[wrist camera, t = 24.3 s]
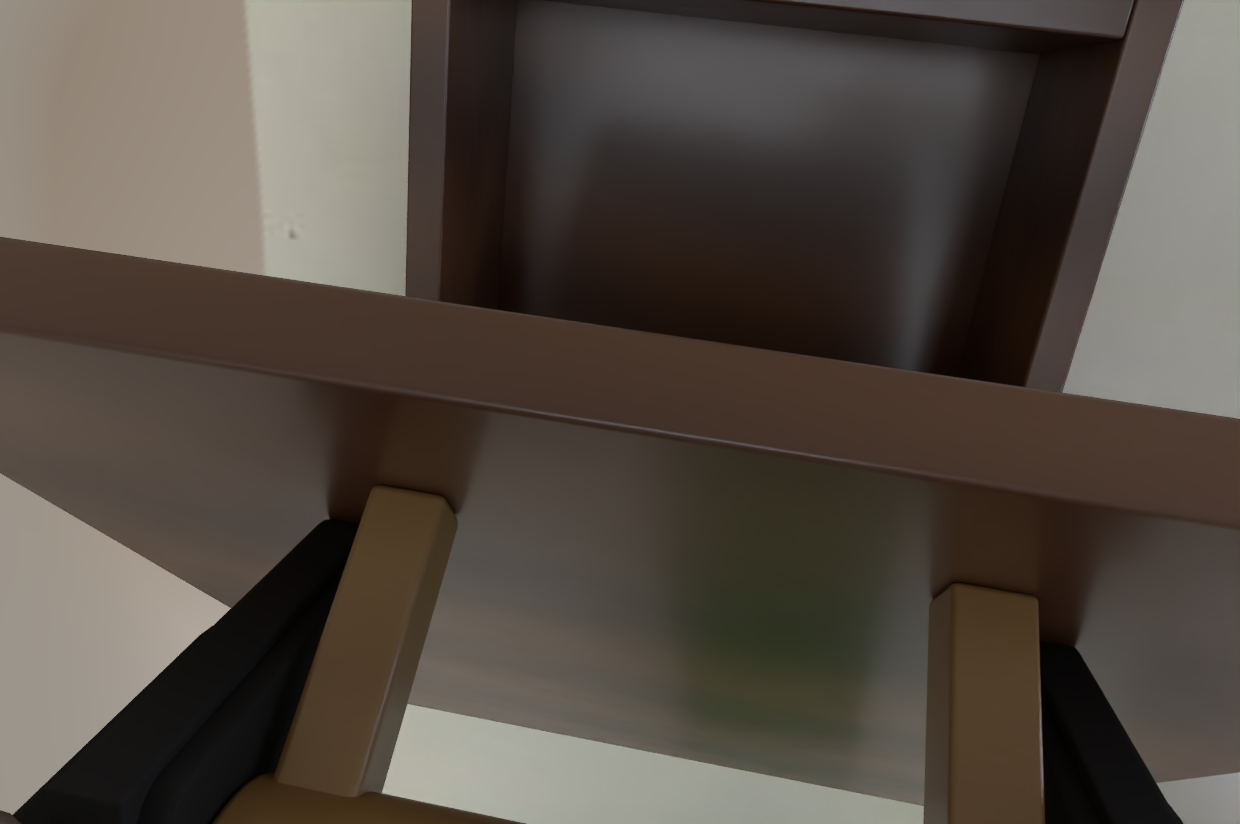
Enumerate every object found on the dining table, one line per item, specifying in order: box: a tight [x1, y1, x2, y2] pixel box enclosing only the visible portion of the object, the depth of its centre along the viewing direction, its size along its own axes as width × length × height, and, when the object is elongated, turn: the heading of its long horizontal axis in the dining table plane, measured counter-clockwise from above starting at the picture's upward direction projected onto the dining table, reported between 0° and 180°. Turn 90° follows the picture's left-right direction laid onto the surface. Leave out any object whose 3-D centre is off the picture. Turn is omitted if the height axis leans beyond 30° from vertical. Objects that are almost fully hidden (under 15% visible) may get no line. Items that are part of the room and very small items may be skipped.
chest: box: [406, 0, 1184, 393], centre depth 24 cm, size 20×16×6 cm
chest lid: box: [0, 237, 1240, 824], centre depth 14 cm, size 21×16×5 cm
